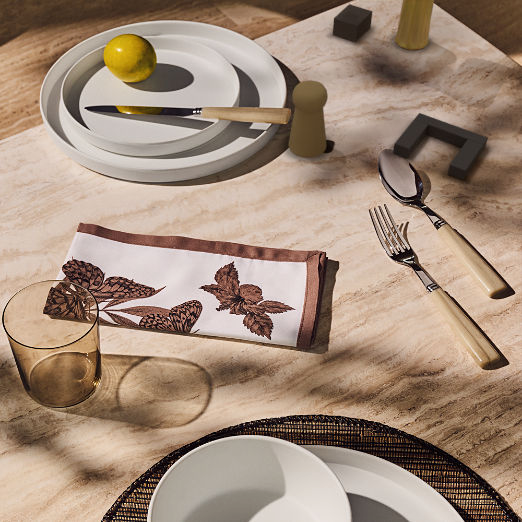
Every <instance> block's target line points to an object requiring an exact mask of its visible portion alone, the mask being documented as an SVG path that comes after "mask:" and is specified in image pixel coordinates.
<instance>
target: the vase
mask: <svg viewBox="0 0 522 522" xmlns="http://www.w3.org/2000/svg"><path fill="white" fill-rule="evenodd" d="M434 5H435V0H402V4H401V9H400V14H399V19H398V26H397V30H396V34H395V37H394V41H395V43H396V44H397V45H398V46H399V47H401V48H403V49H405V50H410V51H412V50H413V51H414V50H415V51H416V50H420V49H424V48H425V47H427V45H428V44H429V36H430V30H431V20H432V15H433V9H434Z"/></svg>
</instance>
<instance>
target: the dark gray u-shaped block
mask: <svg viewBox="0 0 522 522" xmlns="http://www.w3.org/2000/svg"><path fill="white" fill-rule="evenodd" d="M425 136H429V137H432V138H434V139H438V140H440V141H443V142H446V143H448V144H452V145H454V146H456V147H459V148H460V150H459V151H458V153H457V154H456V155H455V157H454V158H453V159H452V161H451V162H450V164H449V166H448V167H449V168H448V170H447V175H449V176H451V177H453V178H456V179H458V180H460V181H464V179H465V178H466V176H467V175H468V173H469V172H470V171H471V169H472V168H473V166H474V164H476V162H477V161H478V159H479V157H480V156H481V155H482V153H483V151H484V150H485V149H486V146H487V143H488V141H489V140H488V139H489V137H487V136H485V135H482V134H479V133H478V132H477V133H476V132H473V131H471V130H468V129H466V128H463V127H459V126H458V125H454V124H451V123H448V122H446V121H443V120H440V119H438V118H435V117H432V116H429V115H427V114H423V113H421V112H418V114H417V115H416V116H415V118H414V119H413V120H412V121H411V123H410V124H409V125H408V126H407V128H406V129H404V131H403V132H402V133H401V135H400V136H399V137H398V138H397V139H396V141H395V142H394V144H393V150H392V154H394V155H397V156H400V157H402V158H405V159H409V157H410V156H411V155H412V153H413V152H414V150H415V149H416V148H417V147H418V146H419V144H420V143H421V142H422V140H424V138H425Z"/></svg>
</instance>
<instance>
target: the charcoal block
mask: <svg viewBox="0 0 522 522" xmlns="http://www.w3.org/2000/svg"><path fill="white" fill-rule="evenodd" d="M372 19H373V11H372V10H369V9H366V8H363V7H360V6H357V5H354V4H350V3H349V4H348V5H346V6H345V7H344V8H343V9H342V10H341V11H340V12H338V14H337V15H336V16H334V18H333V24H332V36H334V37H338V38H341V39H343V40H346V41H349V42H353V43H357V42H358V41H359V40H361V38H362V37H363V36H364V35H365V34H366V33H367V32H368V31H369V30H370V29H371V28H372V21H373V20H372Z"/></svg>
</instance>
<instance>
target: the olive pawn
mask: <svg viewBox="0 0 522 522" xmlns="http://www.w3.org/2000/svg"><path fill="white" fill-rule="evenodd" d="M293 88H294V89H293V91H292V102H293V103H292V104H293V105H294V106H295V108H294V112H293V118H292V123H291V128H290V134H289V139H288V149H289V151H290V152H291V153H292V154H294V155H296V156H298V157H300V158H315V157H318V156H320V155H322V154H323V153H325V151H326V149H327V134H326V123H325V112H324V111H325V110H324V108H325V106H326V104H327V102H328V96H329V94H328V89H327V88H326V87H325V85H324V84H323V83H321V82H319V81H317V80H312V79H310V80H308V79H307V80H303V81H301V82H299V83H297V84H296V85H295V87H293Z"/></svg>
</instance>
